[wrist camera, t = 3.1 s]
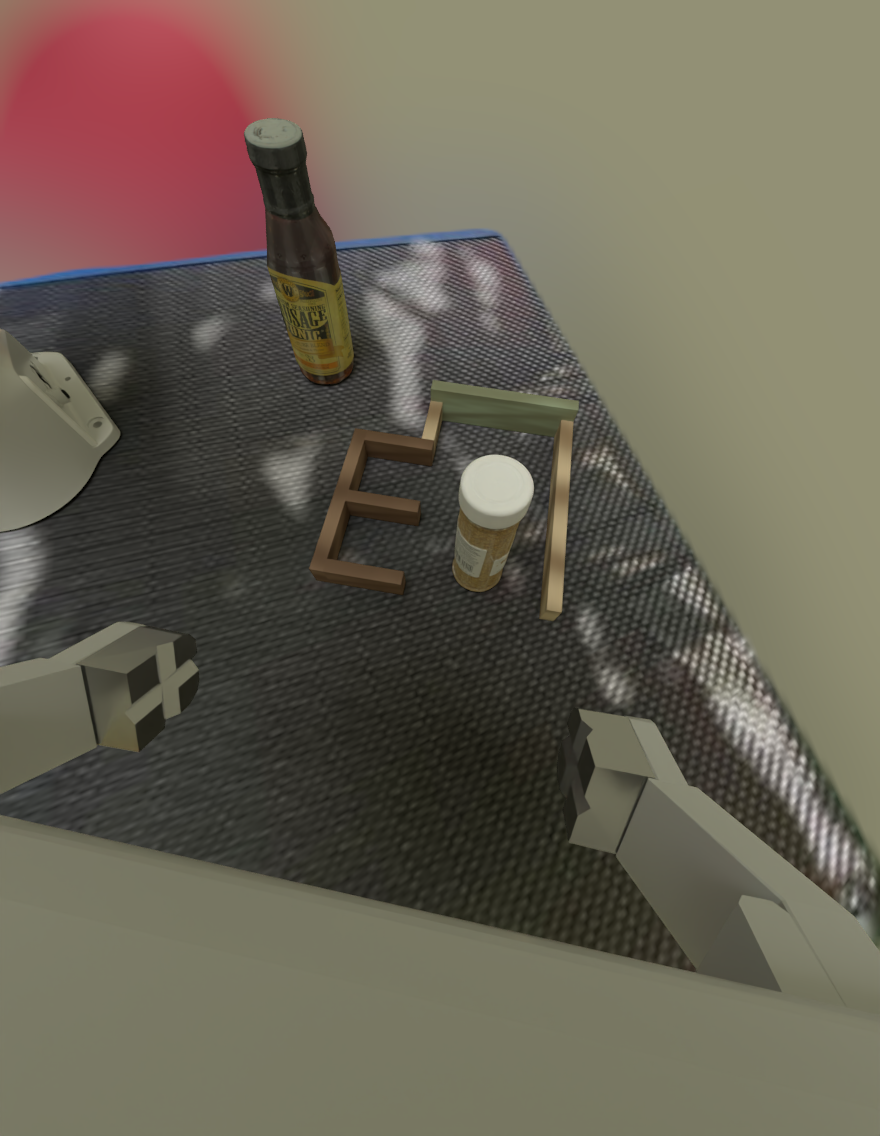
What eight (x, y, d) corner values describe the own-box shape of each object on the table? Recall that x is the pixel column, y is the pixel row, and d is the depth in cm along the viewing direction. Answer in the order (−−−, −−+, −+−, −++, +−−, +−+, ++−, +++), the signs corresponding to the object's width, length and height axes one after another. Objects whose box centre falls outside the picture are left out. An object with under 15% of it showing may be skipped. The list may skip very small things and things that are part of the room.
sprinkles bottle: (508, 585, 37) (547, 504, 25) (459, 598, 36) (474, 522, 24) (491, 541, 39) (519, 444, 26) (444, 553, 38) (450, 460, 26)
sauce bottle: (290, 378, 46) (198, 139, 28) (318, 342, 49) (249, 100, 30) (342, 396, 45) (282, 161, 27) (368, 359, 48) (328, 119, 30)
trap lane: (553, 621, 36) (567, 606, 32) (316, 580, 37) (303, 561, 33) (566, 430, 44) (578, 401, 40) (373, 401, 45) (368, 370, 42)
